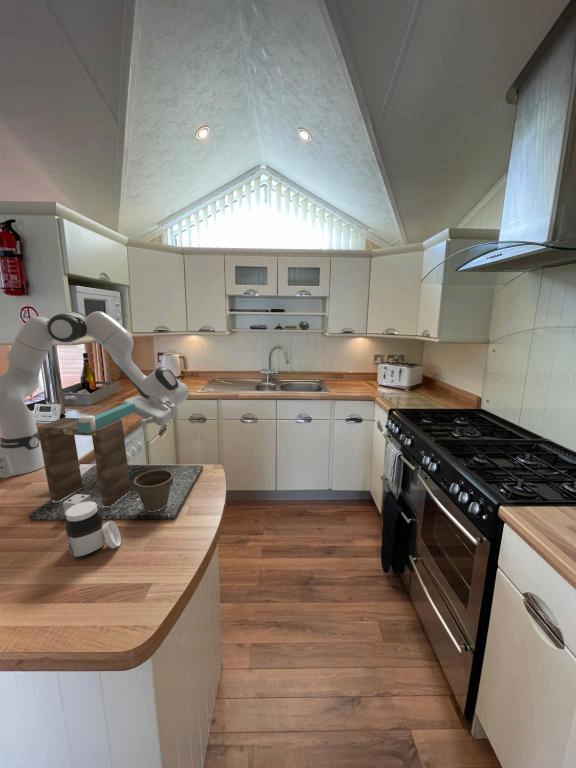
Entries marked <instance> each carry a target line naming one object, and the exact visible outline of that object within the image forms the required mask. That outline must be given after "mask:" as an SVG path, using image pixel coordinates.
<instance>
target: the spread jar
mask: <svg viewBox="0 0 576 768" xmlns="http://www.w3.org/2000/svg"><path fill="white" fill-rule="evenodd" d="M65 515H66V518H65V521H64V527H65V534H66V540H67V544H68V545H67V546H68V549H69V550H68V551H69V553H70V555H71V557H73V558H74V559H77V560H79V559H80V560H81V559H86V558H89V557H92V556H93V555H94V556H95V554H97V553H99V552H100V551H101V550H102V549H103V548H104V547H105V544H107V546H108V547H109V548H110V549H116V548H117V547H120V546H121V543H122V537H121V533H120V530H119V527H118V526H117V524H116V523H115V522H114V521H113V520H109V521H107V522H105V523H104V524H103V521H102V516H101V514H100V513H99V511H98V504H97V502H94V501H91V502H82V503H79V504H76V505H74V506H72V507H70V508H69V509H68V510H67V511H66V512H65V513H64V516H65Z"/></svg>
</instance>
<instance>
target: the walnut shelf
mask: <svg viewBox="0 0 576 768" xmlns="http://www.w3.org/2000/svg"><path fill="white" fill-rule="evenodd" d="M79 418H80V417H62V418H59V419H57V420H56V419H55V420H54V421H51V422H48V423H46V424H42V425H40V426H38V427H37V431H38V432H39V438H40V440H39V441H40V443H41V449H42V454H43V460H44V465H45V466H44V471H45V476H46V480H47V482H46V483H47V487H48V491H49V498H50V502H51V501H52V500H55V501H59V500H61V499H62V498H64V497H66V496H68V495H69V494H71V493H73V492H75V491H77V490H79V489H80V488H82V487H83V479H82V475H81V466H79V464H80V461H79V456H78V455H79V453H78V449H77V443H76V438H75V437H76V436H89V437H90V436H91V439H92V440H91V441H92V447H93V452H94V458H95V459H94V460H95V465H96V471H97V479H98V487H99V492H100V500H101V505H104V506H111V505H112V504H114V503H115V502H116V501H117V500H118V499H120V498H121V497H122V496H124V495H125V494H126V493H128V492H129V491H130V490H131V491H132V489H131V487H132V486H131V482H130V481H131V480H130V474H129V473H130V472H129V466H128V465H129V464H128V457H127V449H126V443H125V435H124V427H123V419H118V420H116V421H114V422H112V423H110V424H107V425H105V426H103V427H101V428H98V429H96V430H95V431H92V432H90V433H81V432H78V426H77V422H79ZM83 488H84V487H83Z"/></svg>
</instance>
